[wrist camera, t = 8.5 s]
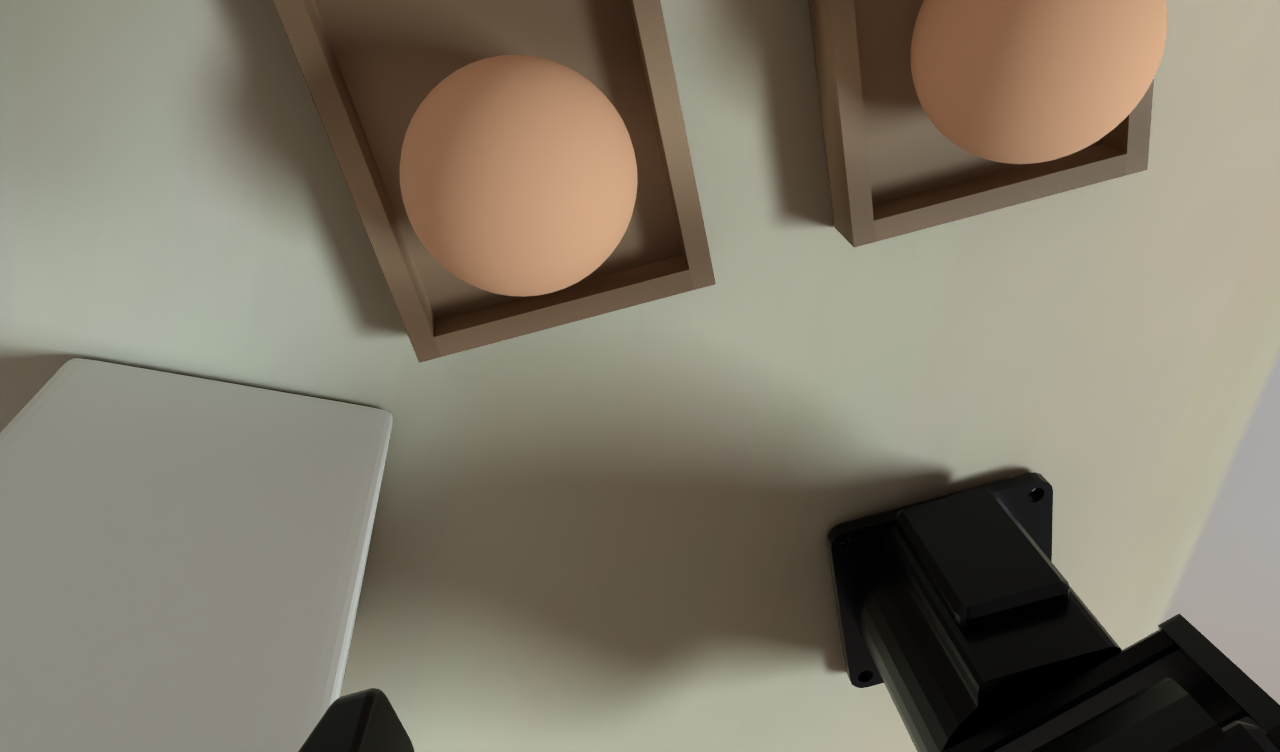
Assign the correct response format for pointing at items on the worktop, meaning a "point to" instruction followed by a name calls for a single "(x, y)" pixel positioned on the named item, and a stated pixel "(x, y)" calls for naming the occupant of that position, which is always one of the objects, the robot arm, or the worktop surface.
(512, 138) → the ball
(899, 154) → the trough
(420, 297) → the trough
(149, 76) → the worktop surface
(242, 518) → the milk carton
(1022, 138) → the ball
